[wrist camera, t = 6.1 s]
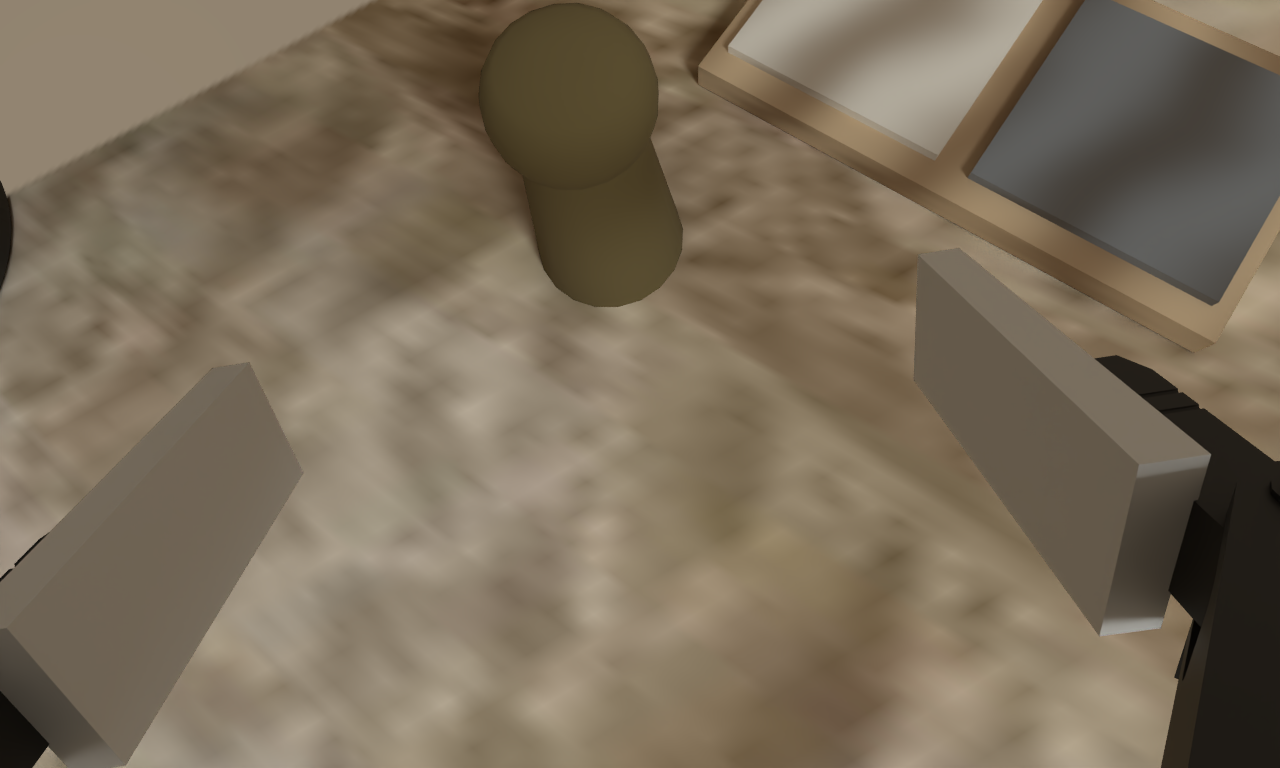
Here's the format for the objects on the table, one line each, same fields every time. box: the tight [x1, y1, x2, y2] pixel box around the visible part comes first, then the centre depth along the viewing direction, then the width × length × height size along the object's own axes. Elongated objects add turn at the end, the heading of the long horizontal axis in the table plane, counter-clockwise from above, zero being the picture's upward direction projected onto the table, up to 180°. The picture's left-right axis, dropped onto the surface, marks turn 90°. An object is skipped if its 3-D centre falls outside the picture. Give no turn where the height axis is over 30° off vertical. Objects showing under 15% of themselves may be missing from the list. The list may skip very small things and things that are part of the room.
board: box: [698, 0, 1280, 353], centre depth 29 cm, size 22×12×2 cm, turn 55°
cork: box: [479, 3, 683, 307], centre depth 25 cm, size 6×6×11 cm
